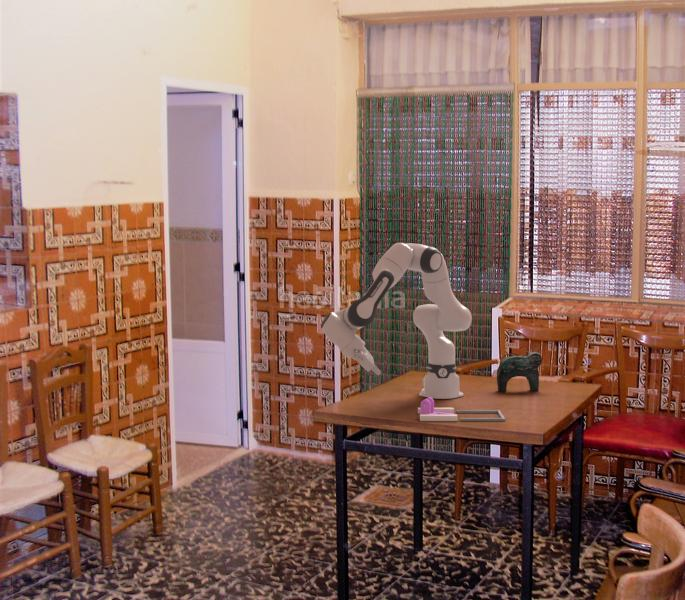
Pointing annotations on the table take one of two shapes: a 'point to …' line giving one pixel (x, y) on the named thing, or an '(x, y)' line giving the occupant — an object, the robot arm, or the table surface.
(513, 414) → the table surface
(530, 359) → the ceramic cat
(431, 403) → the bracket
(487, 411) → the cream grey rectangular frame
